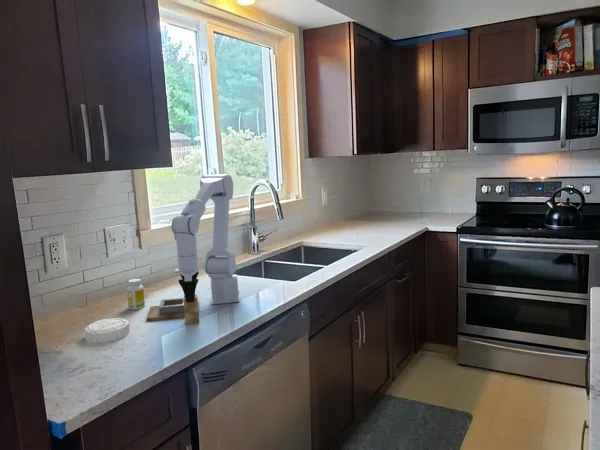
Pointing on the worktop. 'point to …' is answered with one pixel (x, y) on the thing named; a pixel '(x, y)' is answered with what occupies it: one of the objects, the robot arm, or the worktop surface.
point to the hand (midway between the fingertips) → (190, 298)
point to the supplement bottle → (135, 294)
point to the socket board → (167, 310)
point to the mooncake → (107, 330)
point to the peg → (191, 311)
